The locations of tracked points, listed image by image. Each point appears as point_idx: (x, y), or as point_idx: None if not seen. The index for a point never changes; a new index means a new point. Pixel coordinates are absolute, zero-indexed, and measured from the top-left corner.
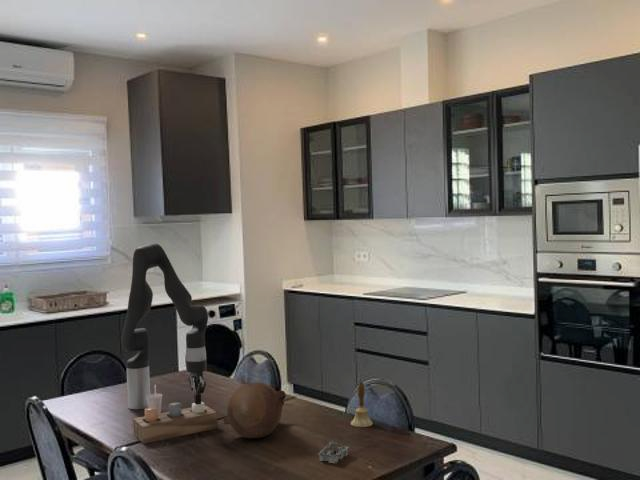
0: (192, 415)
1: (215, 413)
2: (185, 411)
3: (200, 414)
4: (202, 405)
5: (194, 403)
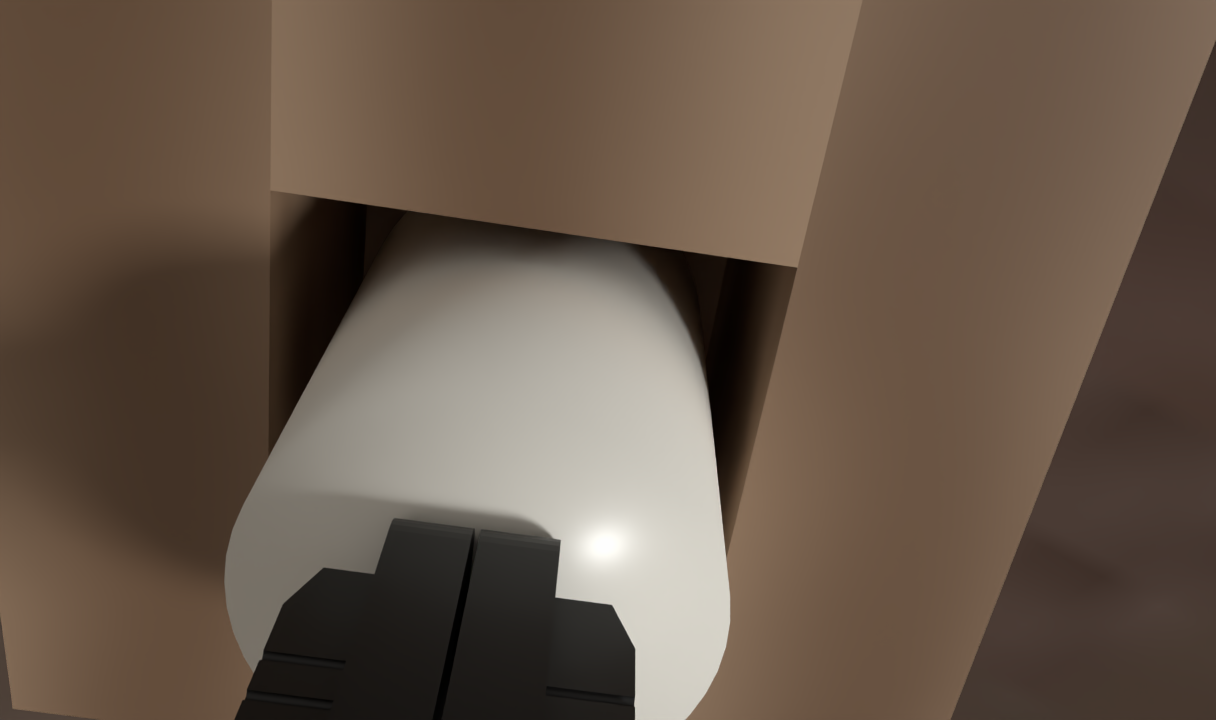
0: (115, 49)
1: (18, 657)
2: (800, 116)
3: (73, 311)
4: (256, 634)
5: (612, 541)
